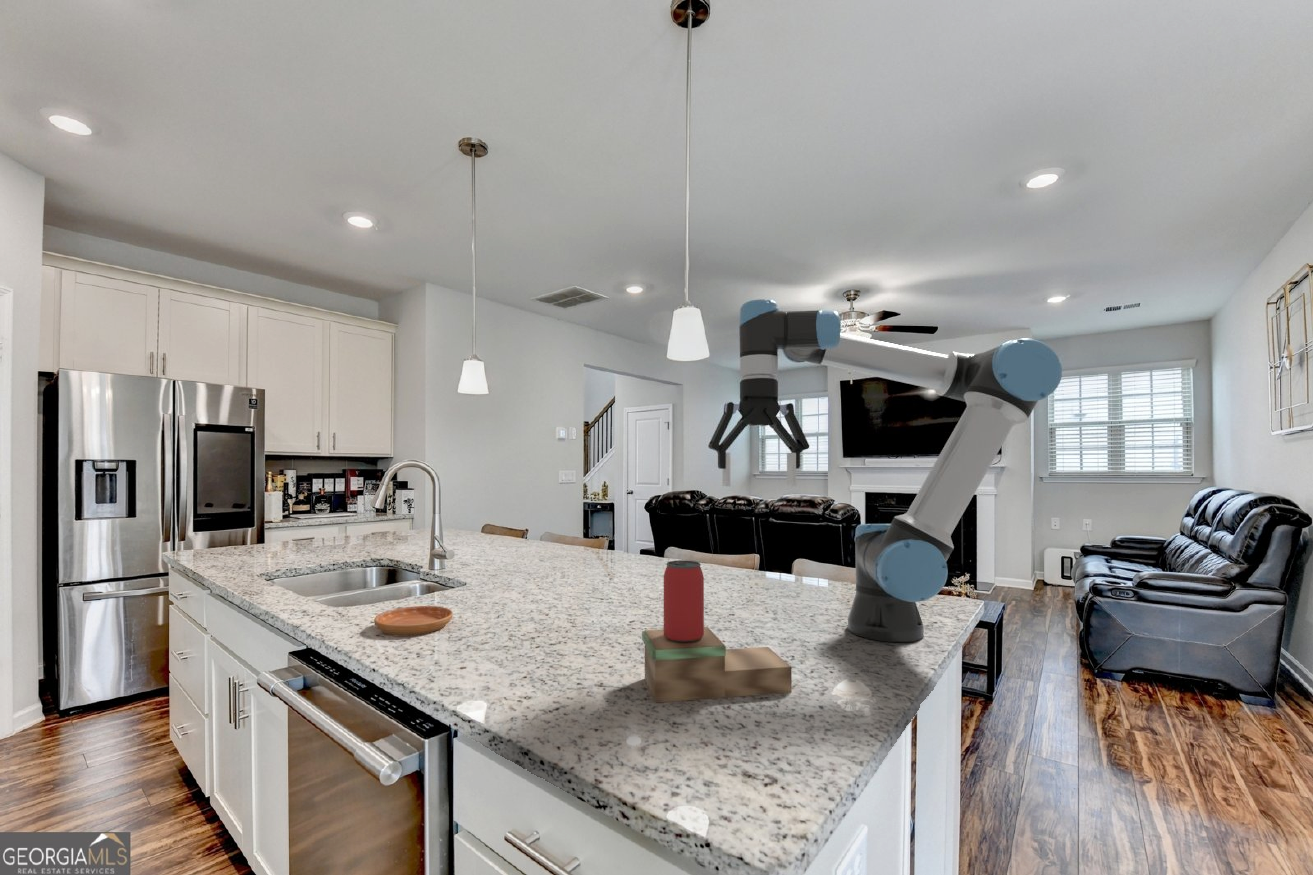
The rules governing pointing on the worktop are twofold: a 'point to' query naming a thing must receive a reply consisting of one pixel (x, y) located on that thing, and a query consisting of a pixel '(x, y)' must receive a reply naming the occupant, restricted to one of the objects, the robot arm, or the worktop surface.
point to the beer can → (683, 601)
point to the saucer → (413, 620)
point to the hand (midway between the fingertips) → (759, 485)
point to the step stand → (710, 669)
